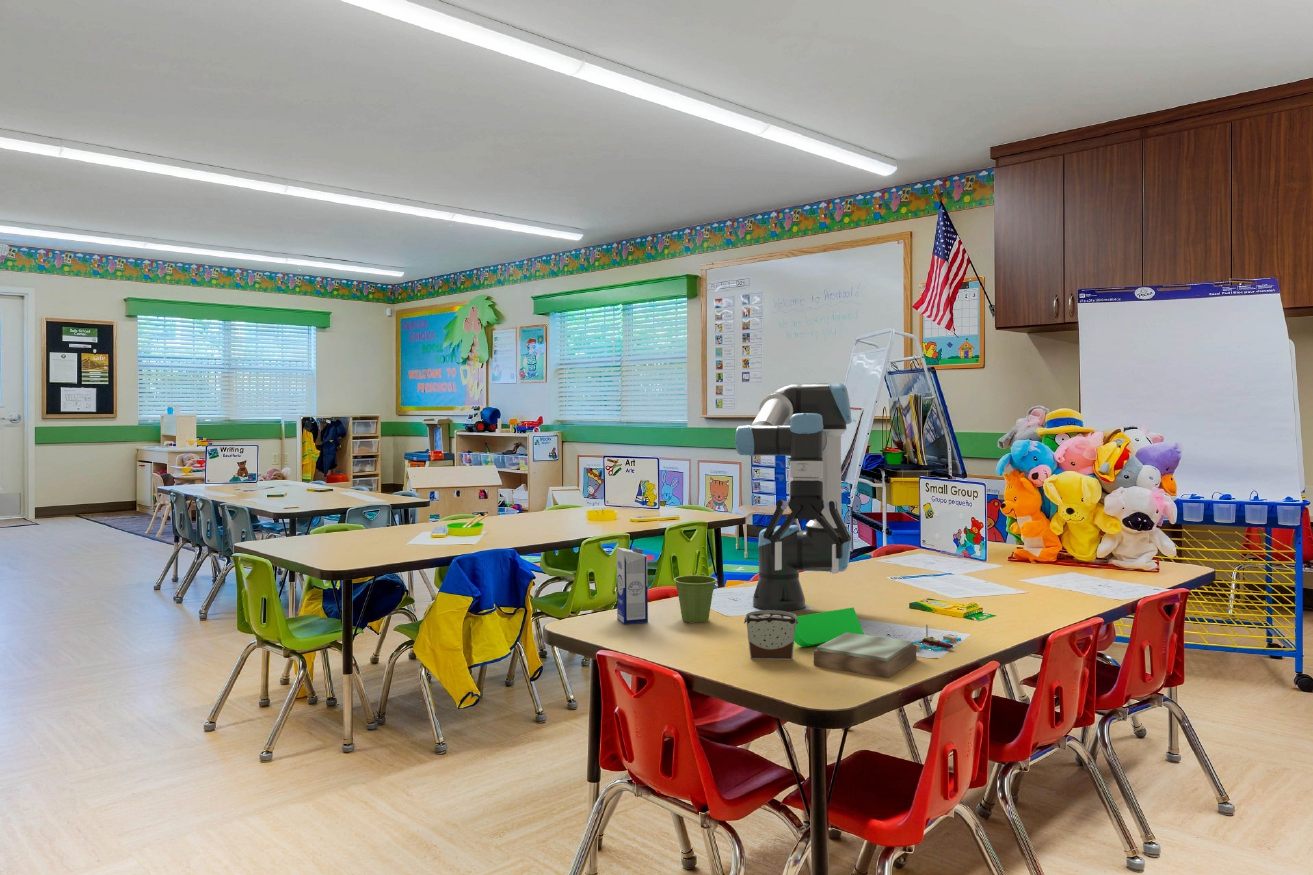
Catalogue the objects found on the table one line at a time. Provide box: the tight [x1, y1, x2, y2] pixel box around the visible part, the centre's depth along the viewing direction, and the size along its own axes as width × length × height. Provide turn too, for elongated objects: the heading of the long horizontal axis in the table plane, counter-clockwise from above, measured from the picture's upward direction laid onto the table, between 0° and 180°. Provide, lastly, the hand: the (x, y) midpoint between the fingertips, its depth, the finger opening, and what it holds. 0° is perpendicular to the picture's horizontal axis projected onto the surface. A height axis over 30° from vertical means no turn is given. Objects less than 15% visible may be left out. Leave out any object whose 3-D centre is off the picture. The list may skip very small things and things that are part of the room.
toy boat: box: [911, 623, 962, 653], centre depth 204 cm, size 20×5×9 cm
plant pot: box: [673, 574, 718, 624], centre depth 233 cm, size 12×12×11 cm
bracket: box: [794, 606, 865, 648], centre depth 212 cm, size 20×10×7 cm, turn 121°
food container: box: [743, 609, 799, 661], centre depth 197 cm, size 12×6×10 cm, turn 84°
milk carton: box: [616, 546, 649, 625], centre depth 234 cm, size 7×7×20 cm
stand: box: [813, 632, 917, 679], centre depth 191 cm, size 17×17×4 cm
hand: (806, 571), depth 199 cm, fingers open, 13 cm apart
